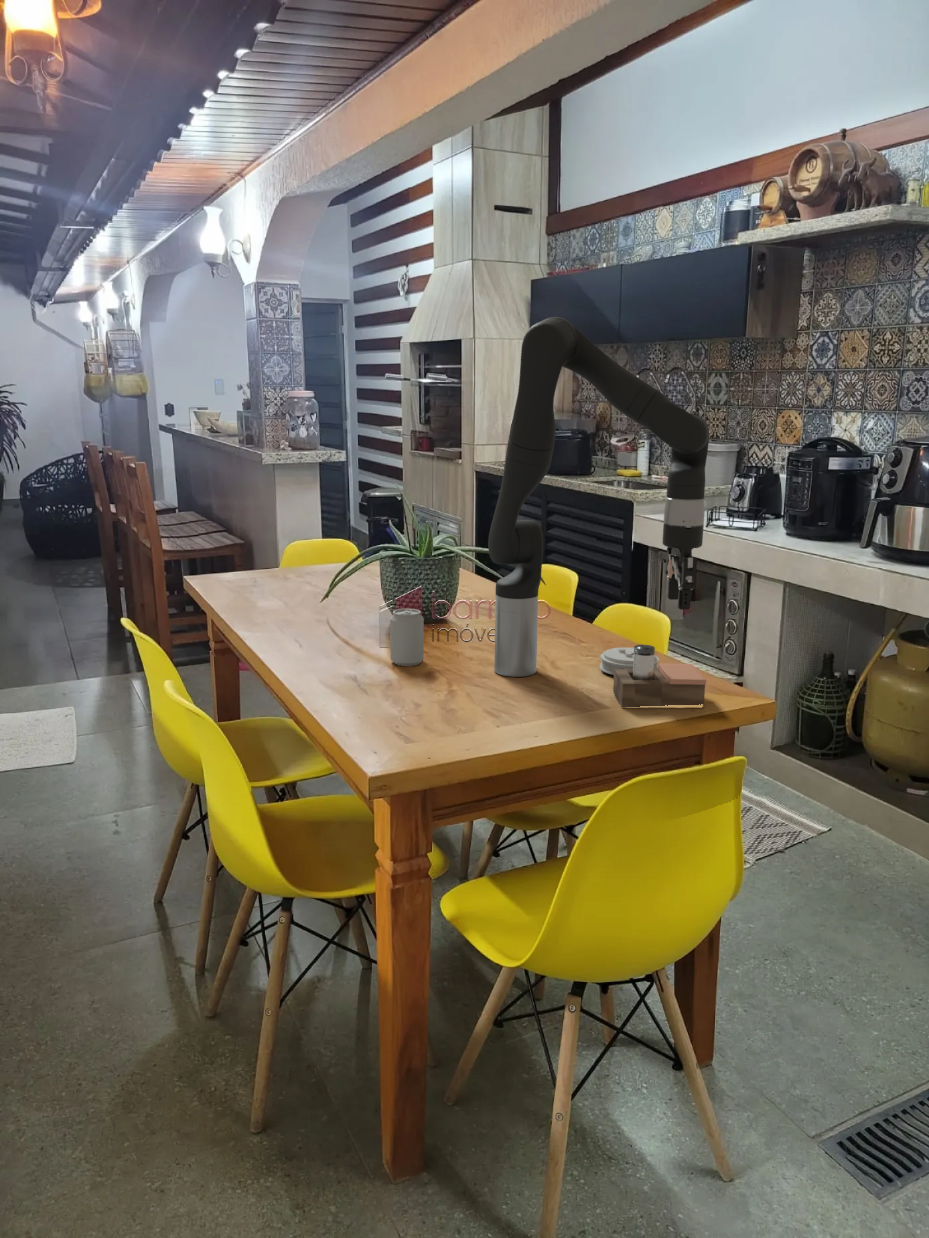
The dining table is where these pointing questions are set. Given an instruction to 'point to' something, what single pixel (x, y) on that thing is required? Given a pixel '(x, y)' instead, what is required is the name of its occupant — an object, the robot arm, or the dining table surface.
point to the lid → (619, 659)
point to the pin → (643, 662)
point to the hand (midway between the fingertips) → (678, 604)
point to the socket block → (654, 691)
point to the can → (407, 637)
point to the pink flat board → (681, 674)
